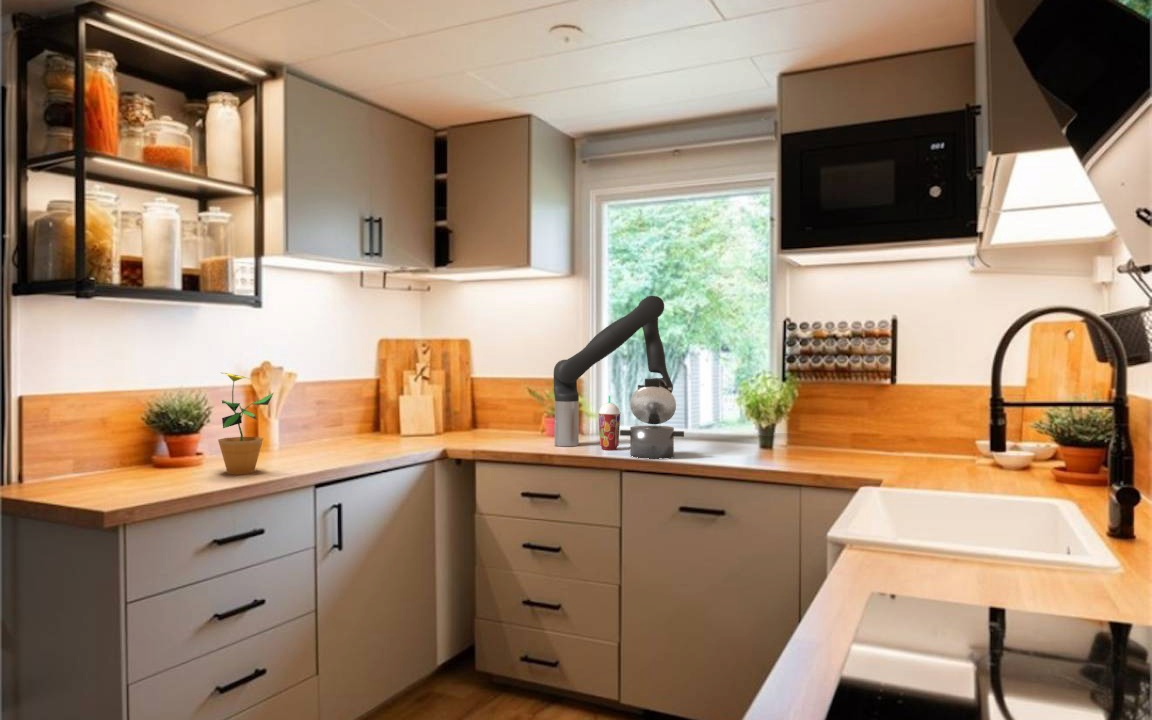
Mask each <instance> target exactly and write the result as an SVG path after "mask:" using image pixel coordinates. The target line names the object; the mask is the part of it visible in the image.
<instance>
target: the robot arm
mask: <svg viewBox="0 0 1152 720" xmlns="http://www.w3.org/2000/svg"><path fill="white" fill-rule="evenodd" d="M664 310H665V303H664V300H663V299H662V298H661V297H659V296H657V295H649V296H646V297H645V298H643V299H641V300H640V301H639V303H638V305H637V306H636V307H635V308H634V309H632V310H631V311H630V312H629V313H628V314H626V315H624V316H623V317H620V318H619V319H617V320H615V321H614V322H612V323H611V324H609V325H607V326H606V327H604V329H602V330H601V331H600V332H598V333H597V334H596V335H595V336H593V338H592V339H590V341H589V342H588V343H587V344H586V345H585V347H584V348H583V349H581V350H580V351H578V352H577V353H576V354H574V355H572V356H571V357H569V358H567V359H562V360H559V361H558V362H557V363H555V366H554V368H553V394H554V447H556V446H557V447H578V446H579V439H580V438H579V435H580V434H579V431H580V430H579V429H580V428H579V427H580V426H579V425H580V424H579V423H580V421H579V420H580V419H579V418H580V417H579V415H580V414H579V410H580V409H579V403H580V401H579V400H580V397H579V395H580V394H579V392H578V380H579V379H580V378H581V377H582V376H583V375H584V374H585V373H586V372H587V371H588V370H589V369H590V368H591V367H593V366H594V365H595V364H597V363H599V362H600V361H602V360H603V359H604V358H606V357H608V356H609V355H611V354H612V353H613V352H615V351H616V350H617V349H619V348H620V347H621V346H622V345H623V344H625V343H626V342H627V341H628V340H630V339H631V337H632V336H634V335H635V334H636V333H637V332H638V331H640V329H641V328H642V331H643V335H644V336H643V337H644V342H645V349H646V359H647V369H648V371H649V373H654V374H660V375H661V376H662V377H654V378H652V379H659V382H660V386H661V387H663V388H665V389H667V390H668V391H670V392H671V393H672V392H673V390H674V385H673V382H672V380H671V377H670V375H669V373H668V370H667V369H668V368H667V365H666V356H665V355H666V354H665V348H664V345H663V342H662V339H661V335H660V332H659V317H661V316H662V315H663V313H664ZM644 386H645V384H643V385H641V384H638V385H637V390H638V389H639V388H641V387H644ZM672 394H673V393H672Z"/></svg>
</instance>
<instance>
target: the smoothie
mask: <svg viewBox="0 0 1152 720" xmlns="http://www.w3.org/2000/svg"><path fill="white" fill-rule="evenodd" d="M597 413H598V414H597V416H598V431H599V446H600V448H601V450H602V449H603V451H617V450H618V447H619V443H620V441H619V440H620V425H621V414H622V413H621V412H620V409H619V407H618V406H617V405H616V404H614V403H613V402H611V395H608V403H604V404H603V405H602V406H601V407H600V408H599V411H598V412H597Z"/></svg>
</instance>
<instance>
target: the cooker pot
mask: <svg viewBox="0 0 1152 720" xmlns="http://www.w3.org/2000/svg"><path fill="white" fill-rule="evenodd" d="M619 436H627V437H629V436H630V438H629V440H630V442H629V444H630V446H629V447H630V448H629V449H630V452H629V453H630V455H631V456H633V457H638V458H637V459H639V458H649V459H648V460H660V459H659V458H669V459H672V458H671V457H673V456H674V455H675V453H674V452H675V447H674V446H675V444H674V443H675V441H674V439H675V438H674V437H678V438H681V437H682V438H684V437H685V431H684V430H675V429H674V427H673V426H670V425H669V426H667V425H635V426H630V428H629V429H621V430H620V429H619ZM631 456H630V457H631ZM633 457H632V458H633ZM673 458H674V457H673Z"/></svg>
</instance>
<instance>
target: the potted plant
mask: <svg viewBox="0 0 1152 720" xmlns="http://www.w3.org/2000/svg"><path fill="white" fill-rule="evenodd" d="M221 374H223V375H226V376H227V377H228V378H229V379H230V380H232V382H233V383H232V390H231V393H232V394H231V398H232V401H231V402H230V401H227V400H224V399H222V400H221V404H225V405H227V406H228V407H229V408H230V410H231V411H233V414H231V415H227V416H224V417H222V418H221V419H222V429H225V428H228V427H233V426H236V425H238V429H239V434H240V436H234V437H233V436H232V437H224V438H218V439H217V441H218V445H219V448H220V452H221V454H222V459H223V461H224V466H225V469H226V473H227V474H228V475H247V474H249V475H250V474H253V473H255V470H256V467H257V462H258V460H259V455H260V452H261V448H262V444H263V441H264V437H259V436H244V435H243V431H242V428H241V424H242V423H243V421H242V419H243V416H244V415H246V416H248V417H250V418H252V419H255V420H256V421H258V418H257V416H256V415H255V414H254V413H252V412H250V411H248V410H247V409H248V408H249V407H250V406H251V405H259V406H262V405H263V406H268V405H269V403H270V401H271V400H272V397H273V395H274V392H272V393H270V394H268V395H266V396H265V397H263V398H261V399H259V400H257V401H254V402H253V403H252V402H251V403H250V404H249V405H247V406H246V407H245V408H242V407H241V403H239V402H238V403H237V402H234V387H235V382H236V381H239V380H242V379H245V380H246V379H248V380H250V378H249V377H245V376H243V375H238V374H233V373H227V372H221ZM238 407H239V409H240V412H236V411H237V410H238ZM243 414H244V415H243Z"/></svg>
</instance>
